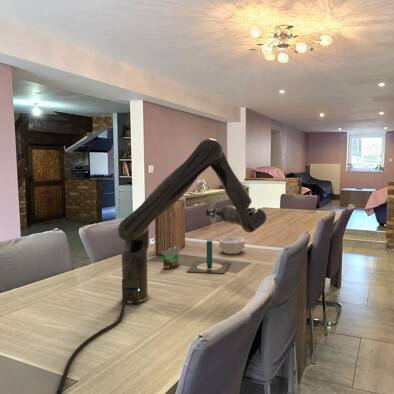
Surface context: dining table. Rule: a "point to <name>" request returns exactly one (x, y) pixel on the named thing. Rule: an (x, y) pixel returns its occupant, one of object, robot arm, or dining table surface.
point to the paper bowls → (231, 245)
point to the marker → (209, 254)
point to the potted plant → (170, 257)
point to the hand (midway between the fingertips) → (215, 210)
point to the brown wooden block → (170, 228)
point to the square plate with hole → (202, 268)
